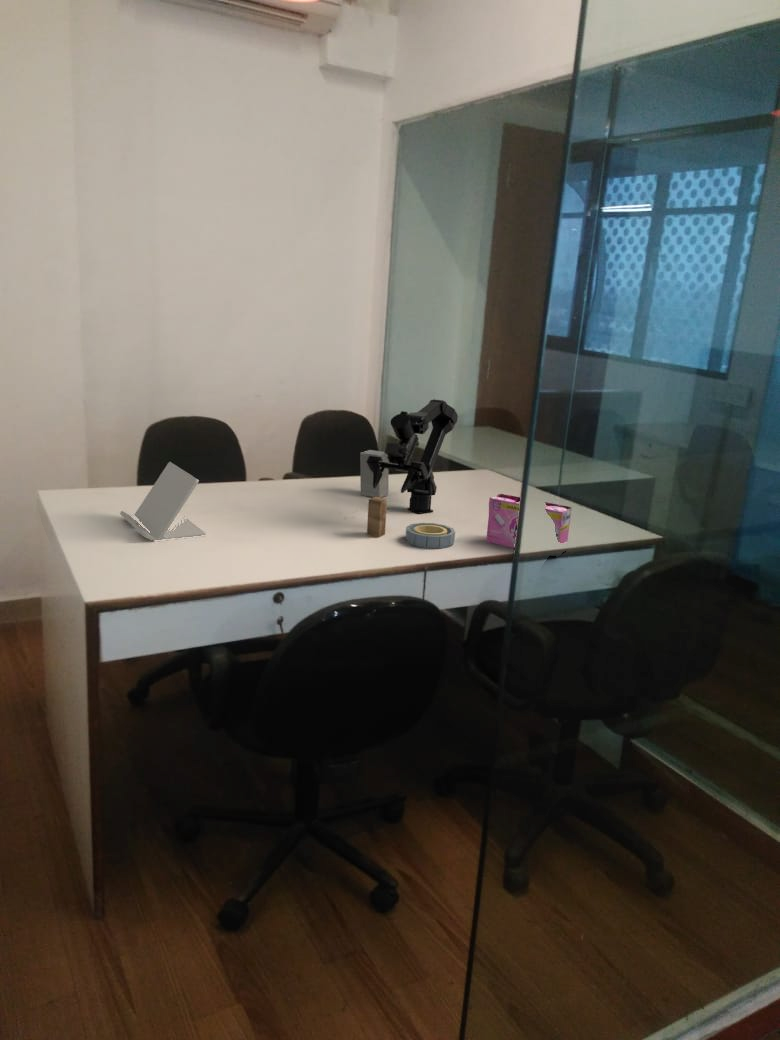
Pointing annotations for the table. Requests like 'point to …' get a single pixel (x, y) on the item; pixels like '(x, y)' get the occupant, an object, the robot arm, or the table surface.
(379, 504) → the brown wooden block
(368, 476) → the skincare box
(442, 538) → the grey round dish
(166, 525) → the tablet stand
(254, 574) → the table surface
